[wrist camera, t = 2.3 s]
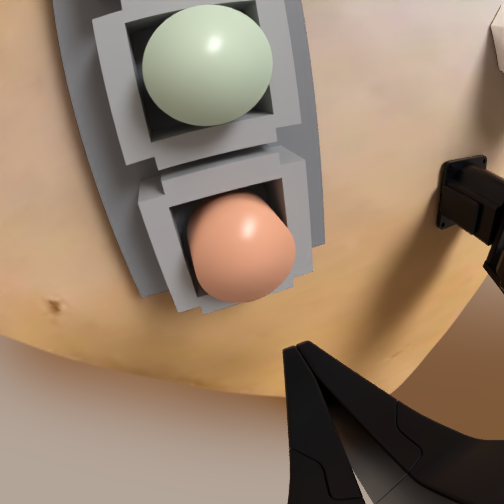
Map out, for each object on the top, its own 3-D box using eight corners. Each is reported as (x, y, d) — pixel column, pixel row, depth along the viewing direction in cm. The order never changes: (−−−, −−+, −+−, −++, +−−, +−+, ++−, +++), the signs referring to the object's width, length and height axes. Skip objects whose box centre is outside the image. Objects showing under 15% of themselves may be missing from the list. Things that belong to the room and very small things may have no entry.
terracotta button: (266, 178, 15) (291, 201, 13) (277, 254, 18) (298, 286, 15) (176, 202, 14) (182, 231, 12) (198, 277, 17) (208, 314, 14)
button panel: (262, -104, 9) (295, -140, 5) (311, 230, 22) (348, 268, 18) (56, -68, 7) (32, -103, 3) (141, 279, 20) (142, 332, 16)
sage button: (240, 13, 11) (262, -2, 8) (256, 105, 13) (280, 112, 11) (136, 32, 10) (131, 20, 8) (157, 127, 12) (157, 140, 10)
